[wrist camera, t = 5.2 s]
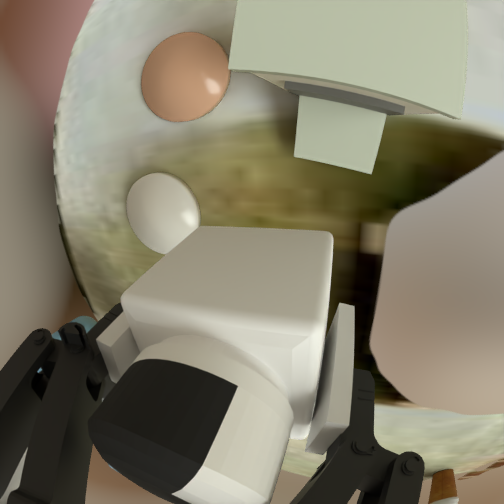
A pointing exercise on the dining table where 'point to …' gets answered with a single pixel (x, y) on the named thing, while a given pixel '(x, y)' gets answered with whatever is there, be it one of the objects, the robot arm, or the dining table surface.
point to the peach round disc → (185, 77)
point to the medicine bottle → (219, 364)
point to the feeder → (354, 66)
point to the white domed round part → (162, 211)
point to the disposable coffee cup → (443, 488)
